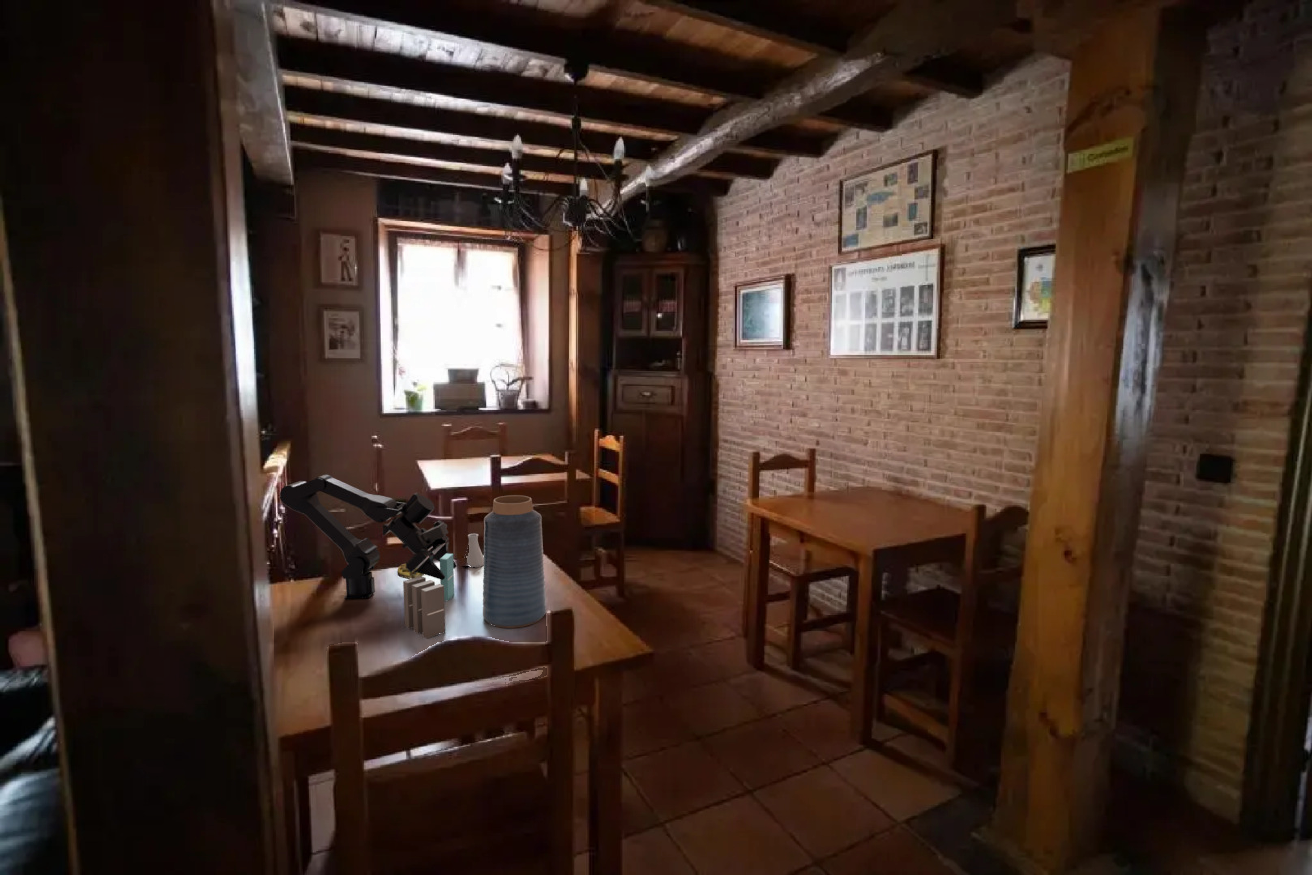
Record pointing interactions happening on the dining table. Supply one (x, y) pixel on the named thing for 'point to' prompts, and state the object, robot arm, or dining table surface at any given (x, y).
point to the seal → (407, 572)
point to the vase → (513, 564)
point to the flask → (474, 552)
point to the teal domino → (447, 575)
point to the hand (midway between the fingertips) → (450, 572)
